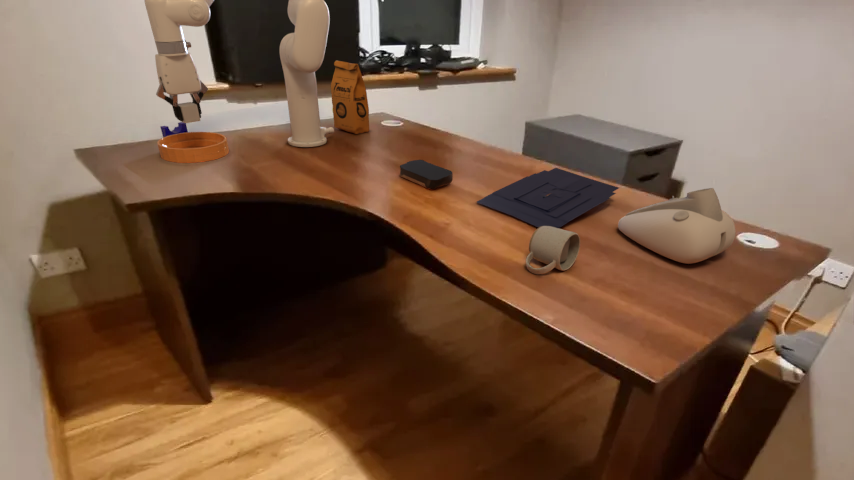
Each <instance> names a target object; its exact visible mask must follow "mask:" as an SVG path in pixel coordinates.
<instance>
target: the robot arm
mask: <svg viewBox="0 0 854 480" xmlns="http://www.w3.org/2000/svg"><path fill="white" fill-rule="evenodd" d="M214 2H215V0H144V4H145V10H146V12H147V16H148V20H149V24H150V27H151V31H152V32H151V33H152V35H153V38H154V39H153V40H154V43H155V48H156V50H157V53H156V54H155V55H154V59H155V67H156V74H157V79H158V84H159V85H158V88H157V91H156V93H155V95H156V96H157V97H158V98H159V99H162V100H163V101H165V102H167V103H168V104H169V105H171V106H172V110H173V114H174V117H175V118H176V119H177V120H178V121H179V120H180V122H182V121H183V116H182V112H181V108H180V106H178V104H179V102H178V101H179V100H178V95H185V94H189V95H190V97H191V100H192V101H191V102H192V103H194V104H196V105H197V108H198V112H199V116H200V119H202V114H203V113H202V112H203V111H202V108H201V105H200V103H201V101H202V99H203V97H204V96H205V94H206V93H207V92H208V91H209V88H208V86H206V84H205V83H204V82H202V80H201V79H200V76H199V73H198V69H197V66H196V64H195V61H194V58H193V56H192V54H191V52H188V51H189V49H190V48H192V44H191V41H187V40H186V39H185V35H184V31H183V26H186V27H195V28H198V27H203V26H205V25H206V24H208V22H209V21H210V19H211V8H210V7H211V6H212V5H213V3H214ZM330 15H331V14H330V10H329V7H328V5H327V3H326V1H325V0H288V3H287V16H288V18H289V21H290V23H292V24H293V25H294V32H289V33H287V34H286V35H284V36H283V38H282V39H281V41H280V44H279V58H280V63H281V66H282V71H283V77H284V84H285V92H286V101H287V107H288V117H289V124H290V131H291V136H289V137H288V138H287V144H288V145H290V146H292V147H296V148H298V147H299V148H315V147H319V146H320V147H321V146H323V145H325V144H326V143H327V141H328V139H327V137H326V136H327V135H330V134H334V133H335V129H334V126H333V127H332V126H330V127H326V126H321V117H320V105H319V95H318V84H317V77H316V72H317V71H318V70H319V69H320V68H321V66H322V64H323V61H324V59H325V53H326V47H327V43H328V35H329V31H330V21H331V18H330V17H331V16H330ZM166 94H168V95H169V96H167V95H166Z"/></svg>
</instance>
